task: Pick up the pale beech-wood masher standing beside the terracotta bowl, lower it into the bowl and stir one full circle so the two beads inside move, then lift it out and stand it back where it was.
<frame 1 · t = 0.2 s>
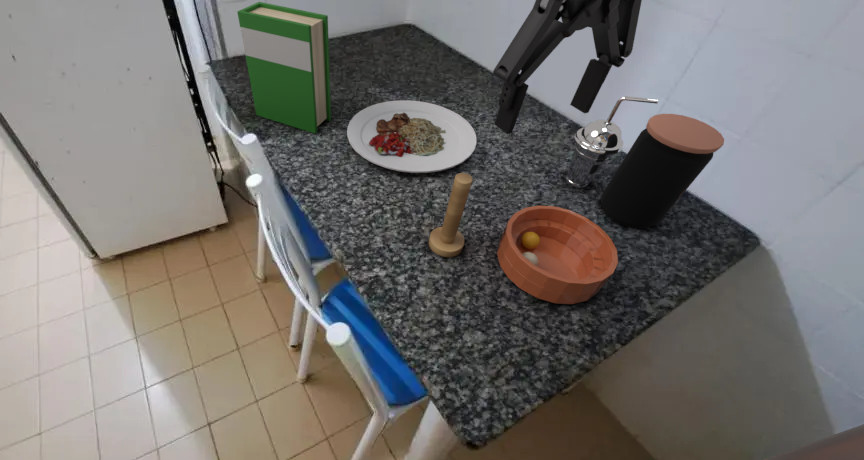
hand: (542, 118, 54), 24 cm above the table, tool pointing down, fingers open, 13 cm apart
bead b: (528, 261, 64), point 2 cm above the table, touching bowl
hardback book: (293, 117, 99), on the table
cup with straw: (577, 182, 82), on the table
coffee jar: (626, 211, 76), on the table
bead a: (530, 240, 67), point 2 cm above the table, touching bowl
masher: (445, 244, 69), on the table
bowl: (546, 264, 66), on the table
plated food: (410, 139, 93), on the table
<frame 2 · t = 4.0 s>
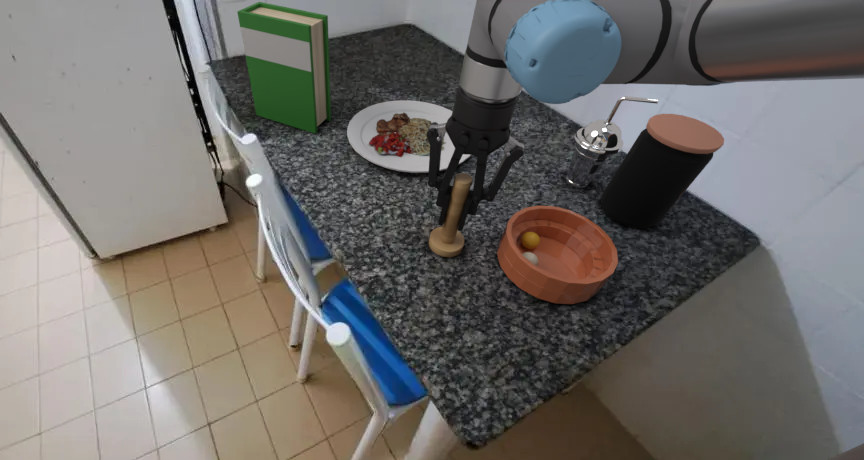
hand: (451, 222, 65), 6 cm above the table, tool pointing down, fingers closed on masher, 3 cm apart
masher: (445, 244, 69), on the table, touching gripper
everything else where it was.
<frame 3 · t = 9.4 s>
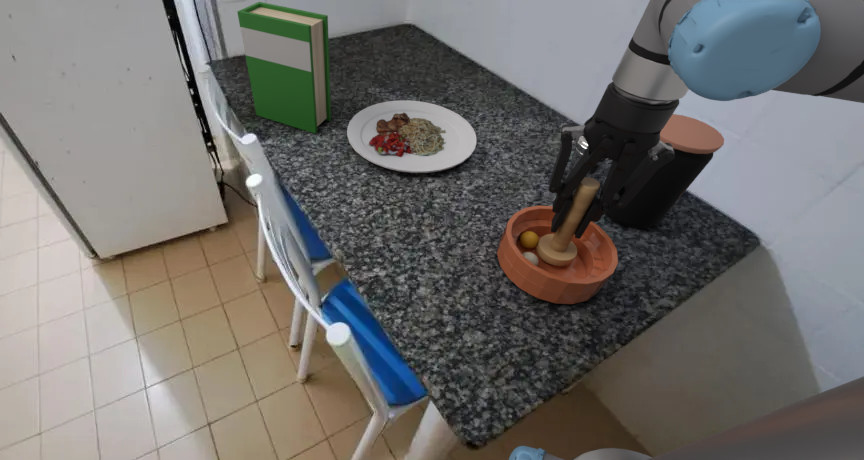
hand: (565, 229, 62), 7 cm above the table, tool pointing down, fingers closed on masher, 3 cm apart
bead a: (529, 239, 67), point 2 cm above the table, tilted 5°, touching bowl, masher
masher: (554, 252, 66), point 2 cm above the table, touching bead a, gripper
everything else where it was.
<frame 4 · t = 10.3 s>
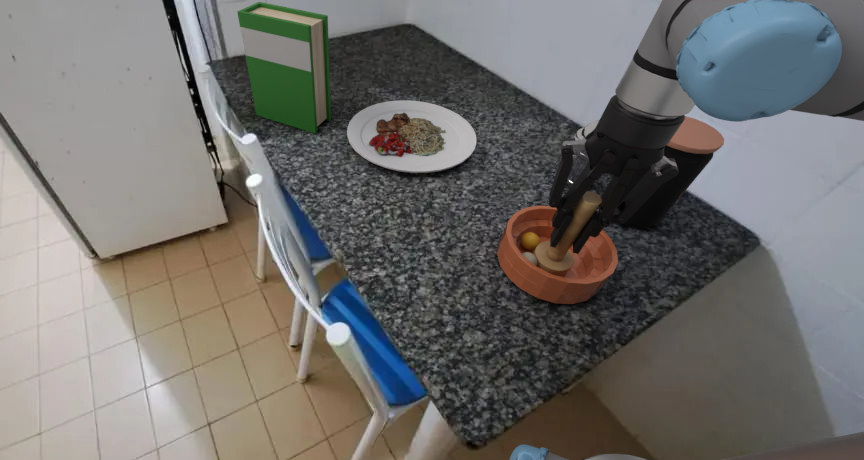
hand: (564, 243, 60), 7 cm above the table, tool pointing down, fingers closed on masher, 3 cm apart
bead b: (527, 261, 64), point 2 cm above the table, tilted 9°, touching bowl
bead a: (530, 240, 67), point 2 cm above the table, tilted 6°, touching bowl
masher: (551, 260, 65), point 1 cm above the table, touching gripper
everything else where it was.
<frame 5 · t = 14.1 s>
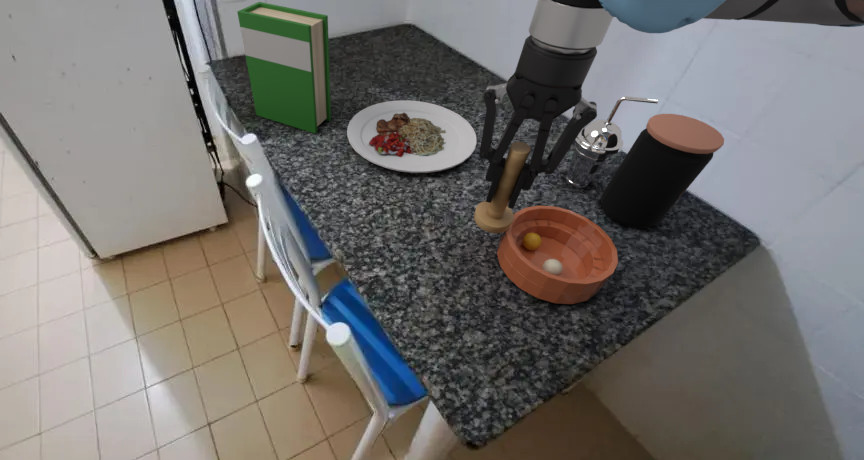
hand: (500, 199, 60), 12 cm above the table, tool pointing down, fingers closed on masher, 3 cm apart
bead b: (552, 268, 63), point 2 cm above the table, tilted 144°, touching bowl
bead a: (531, 241, 67), point 2 cm above the table, tilted 15°, touching bowl
masher: (492, 219, 65), point 7 cm above the table, tilted 5°, touching gripper
everything else where it was.
when the fingers open (6 cm above the table, at t = 15.5 s): masher stays where it is, on the table.
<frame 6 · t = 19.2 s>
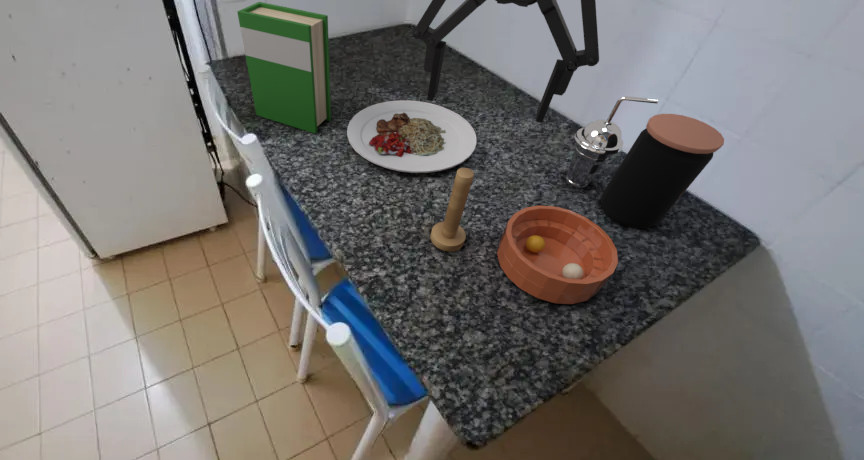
hand: (483, 106, 50), 27 cm above the table, tool pointing down, fingers open, 13 cm apart
bead b: (572, 272, 63), point 2 cm above the table, tilted 97°, touching bowl
bead a: (535, 244, 67), point 2 cm above the table, tilted 42°, touching bowl
masher: (447, 238, 70), on the table
everything else where it was.
at the end: bead a moved 1.0 cm from its start; bead a inside the target area in the bowl (3.3 cm from its centre), point 2.1 cm above the bowl's base; masher tilted 0° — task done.
